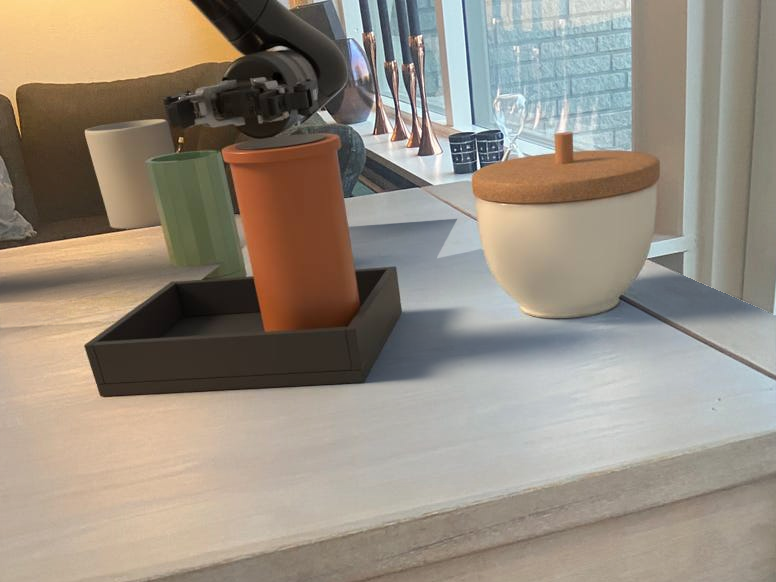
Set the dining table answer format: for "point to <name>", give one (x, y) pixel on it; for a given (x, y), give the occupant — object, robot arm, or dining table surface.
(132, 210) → the mug
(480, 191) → the lidded bowl
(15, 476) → the dining table surface
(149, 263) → the dining table surface
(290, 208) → the pot
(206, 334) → the dark shallow tray
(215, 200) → the cup
